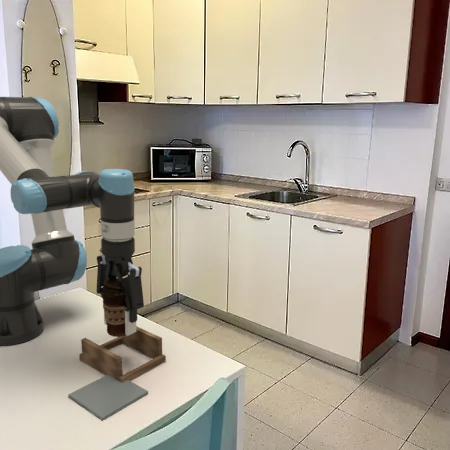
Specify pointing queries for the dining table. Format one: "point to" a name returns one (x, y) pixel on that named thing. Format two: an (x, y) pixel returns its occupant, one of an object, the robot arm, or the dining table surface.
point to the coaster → (107, 396)
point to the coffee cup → (114, 307)
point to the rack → (112, 362)
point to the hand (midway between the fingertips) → (120, 327)
